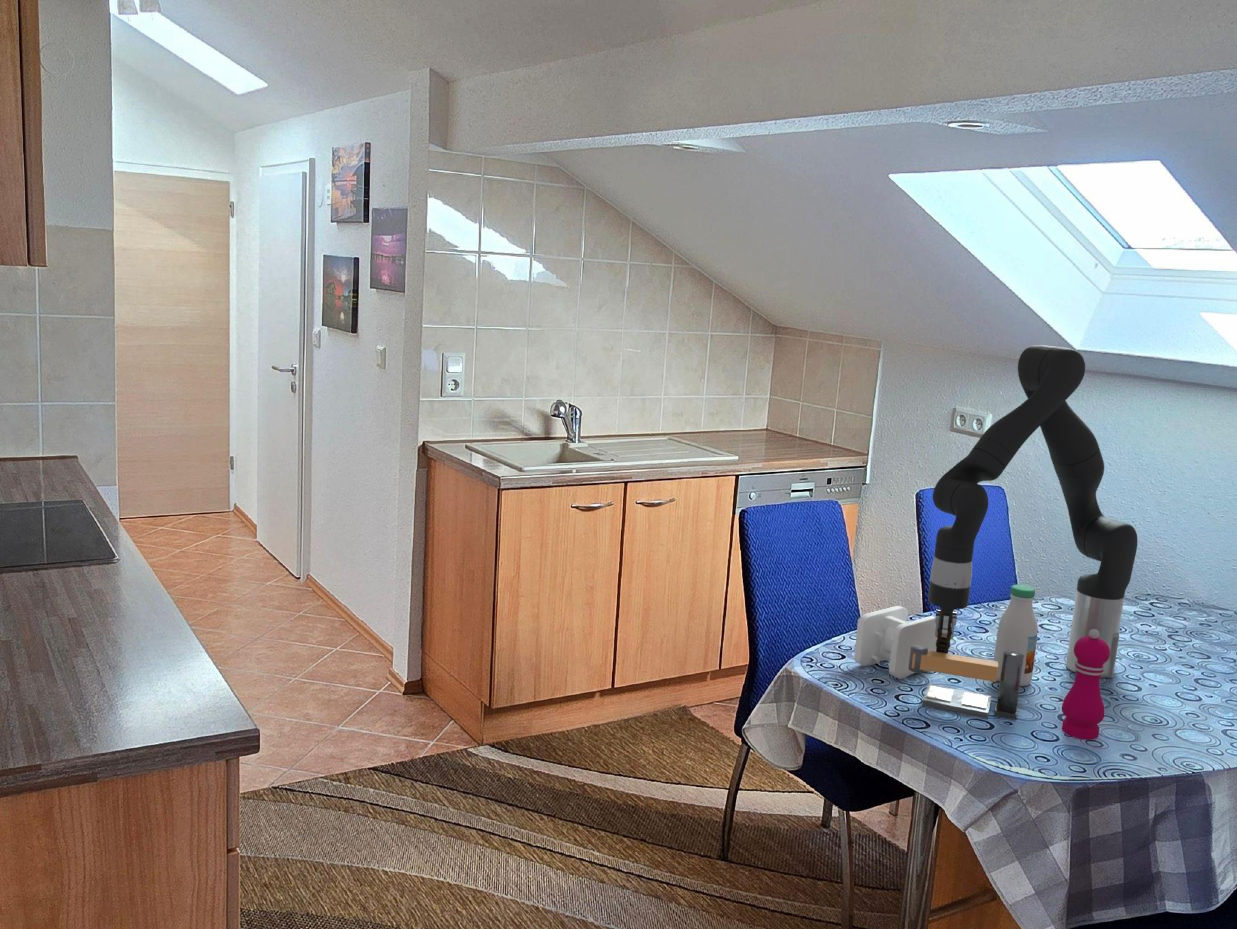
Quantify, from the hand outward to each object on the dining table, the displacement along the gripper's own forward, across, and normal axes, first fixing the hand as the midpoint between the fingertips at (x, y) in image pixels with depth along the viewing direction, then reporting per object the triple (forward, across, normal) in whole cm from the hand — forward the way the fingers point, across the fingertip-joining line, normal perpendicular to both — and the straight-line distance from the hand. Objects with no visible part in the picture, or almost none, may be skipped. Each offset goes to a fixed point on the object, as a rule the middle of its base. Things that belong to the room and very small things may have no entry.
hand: (940, 664), depth 206 cm
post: (+6, -4, -13) cm, 15 cm away
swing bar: (0, -4, -2) cm, 5 cm away
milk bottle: (+7, +15, -14) cm, 22 cm away
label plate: (+6, -4, -4) cm, 8 cm away
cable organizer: (+7, +11, +9) cm, 15 cm away
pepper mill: (+6, -7, -26) cm, 27 cm away
